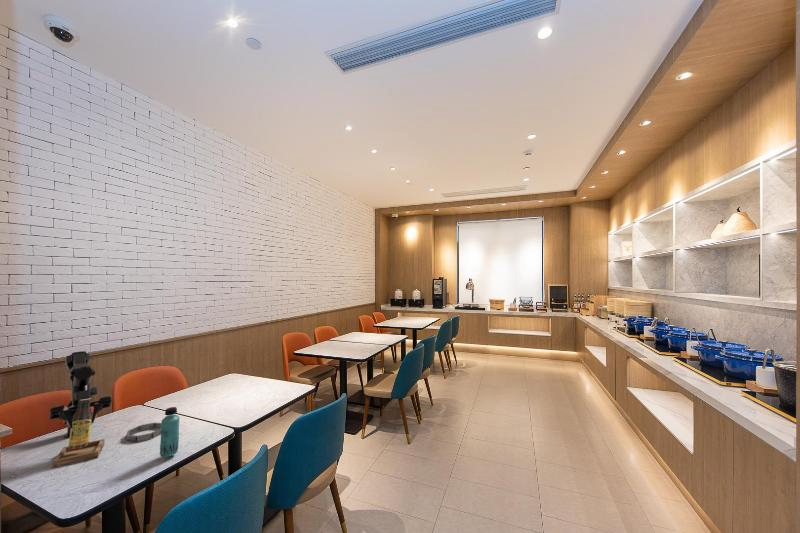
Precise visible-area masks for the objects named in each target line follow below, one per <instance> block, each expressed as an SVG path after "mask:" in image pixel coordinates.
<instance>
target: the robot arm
mask: <svg viewBox="0 0 800 533" xmlns="http://www.w3.org/2000/svg"><path fill="white" fill-rule="evenodd" d="M89 362H90V353H88V352H87V350H86V351H84V350H82V351H74V352H71V353H70V354H69V355H67V356H65V367H66V370H67V371H68V380H70V381H71V383H70V384H71V390H70V391H71V392H70V393H71V394H70V396H71V397H70V399H71V400H70V402H69V403H68V405H67V406H65V404H61V405H60V404H59V405H56V406H52V407H50V409H49V418H48V419H49V420H55V419H56V420H57V419H58V420H63V425H67V430H66V431H67V432H66V434H64V439H65V438H70V431H71V428H72V420H73V415H74V414H75V413H76V411H77V409H78V400H79V399H82V398H88V397H91V402H90V410H91V411H92V407H93V411H92V412H93V415H92V424H94V423H95V420H96V417H97V415H98V414H99V412H100V411H102V410H103V409H105V408H109V407H111V404H112V396H111V395H106V396H101V397H100V396H99V398H98V400H96V401H92V400H93V398H92V397H93V396H97V394H98V387H97V386H95V387H91V382H92V378H93V377H94V376H95V375H96V370H94V368H93V367H91V364H89Z"/></svg>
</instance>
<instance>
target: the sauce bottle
mask: <svg viewBox="0 0 800 533" xmlns="http://www.w3.org/2000/svg"><path fill="white" fill-rule="evenodd" d="M90 402H92V400H91V397H88V398H82V399H79V400H78V409H77V411H76V413H75V414H74V415H73V420H72V428H71V431H70V437H68V438H69V440H68V446H69V449H70V450H76V449H80V448H84V447H86V446H87V445H88V444H89V442H90V439H91V431H92V424H93V423H92V416H93V411H92V409H91V407H90ZM90 409H91V410H90Z"/></svg>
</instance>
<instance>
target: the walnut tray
mask: <svg viewBox="0 0 800 533" xmlns="http://www.w3.org/2000/svg"><path fill="white" fill-rule="evenodd" d="M104 446H105V438H102V439H98V440H93V441H89V444H88V445H87V446H86V447H84V448H80V449H76V450H70V449H69V445H68V446H64V447H63V448H62V449H61V450H60V452H59V453H58V454H57V455H56V457H55V458H54V460H53V461H52V469H56V468H60V467H63V466H64V465H65V466H70V465H73V464H77V463H82V462H86V461H90V459H91V460H94V459H99V456H100V454H101V452H102V450H103V448H104ZM59 466H60V467H59Z"/></svg>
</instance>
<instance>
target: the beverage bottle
mask: <svg viewBox="0 0 800 533" xmlns="http://www.w3.org/2000/svg"><path fill="white" fill-rule="evenodd" d="M177 413H178V407H176V406H171V407H170V406H169V407H168V408H166V409H165V412H164V415H165V417H163V418H162V419H161V423H162V426H161V435H160V441H159V442H160V443H159V455H160V457H163V458H166V457H170V456H174V455H176V454H177V453H178V451H179V444H180V443H179V442H180V418H181V417H180V416H179V415H177Z"/></svg>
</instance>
